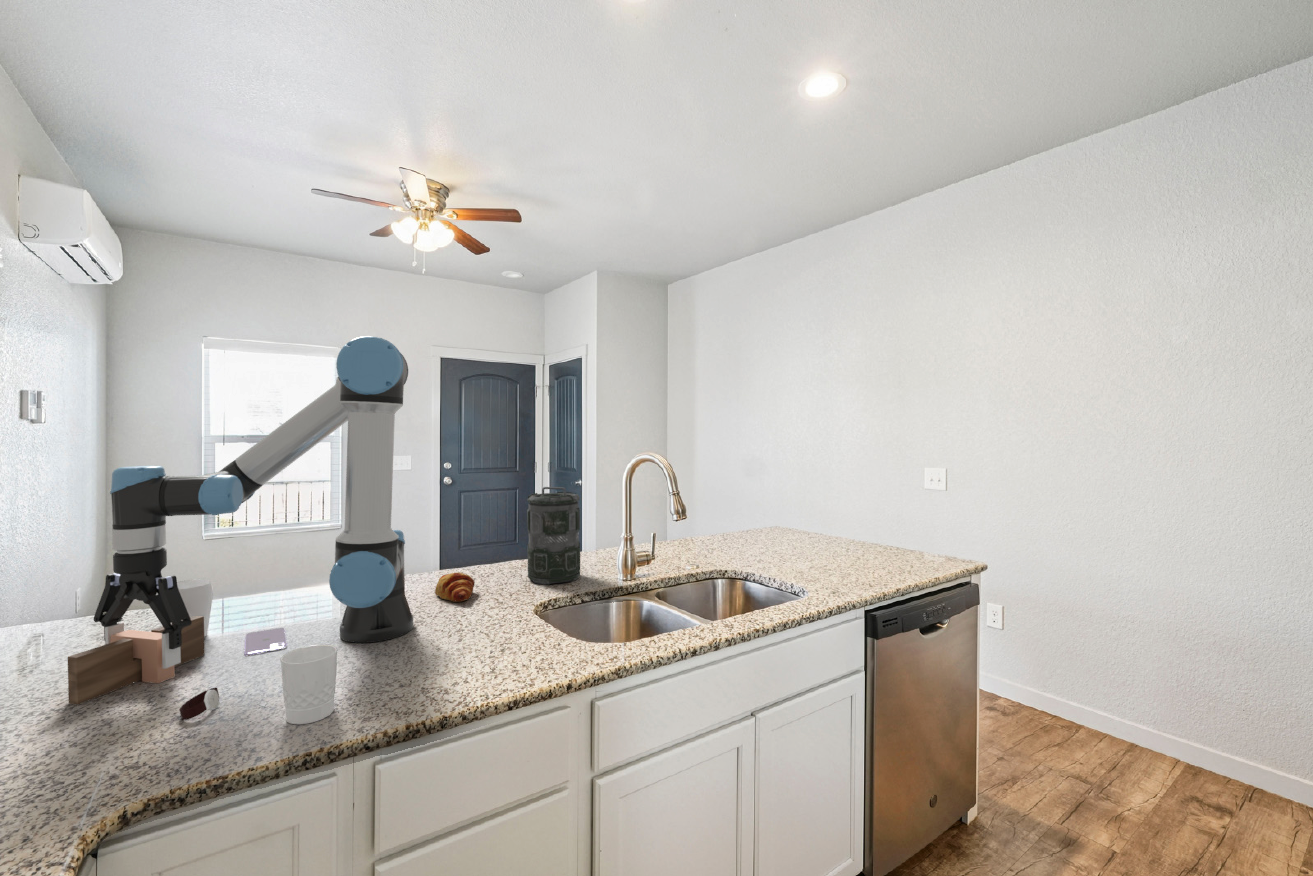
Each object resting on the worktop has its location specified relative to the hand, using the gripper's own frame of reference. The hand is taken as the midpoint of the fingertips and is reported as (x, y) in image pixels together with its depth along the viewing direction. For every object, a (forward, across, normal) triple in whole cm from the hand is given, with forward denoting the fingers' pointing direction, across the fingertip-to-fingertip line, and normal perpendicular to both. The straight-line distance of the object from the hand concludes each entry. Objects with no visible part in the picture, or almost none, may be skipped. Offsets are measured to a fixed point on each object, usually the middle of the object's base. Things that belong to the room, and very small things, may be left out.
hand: (143, 662), depth 110 cm
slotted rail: (+3, 0, 0) cm, 3 cm away
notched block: (+3, 0, 0) cm, 3 cm away
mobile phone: (+3, -7, -20) cm, 21 cm away
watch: (+3, -23, +8) cm, 25 cm away
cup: (+3, +12, -18) cm, 22 cm away
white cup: (+3, -42, +5) cm, 42 cm away
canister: (+3, -47, -83) cm, 95 cm away
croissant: (+3, -27, -61) cm, 67 cm away
